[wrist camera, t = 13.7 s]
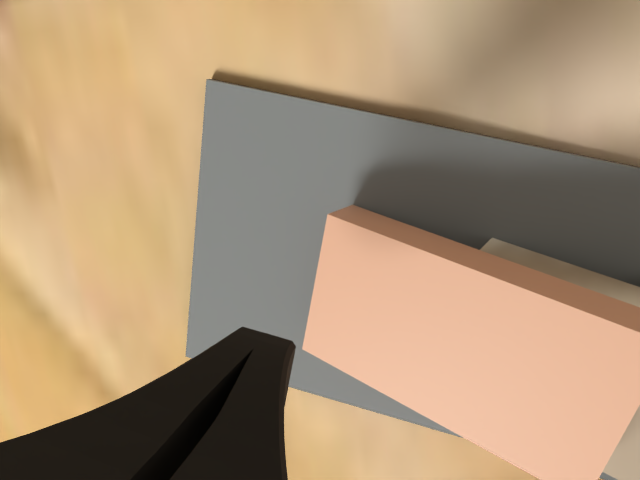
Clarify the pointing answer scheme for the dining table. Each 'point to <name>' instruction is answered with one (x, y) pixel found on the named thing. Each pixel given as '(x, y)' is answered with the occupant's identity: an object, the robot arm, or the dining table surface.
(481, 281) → the terracotta domino
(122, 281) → the dining table surface
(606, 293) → the wooden block
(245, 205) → the slate runway mat
